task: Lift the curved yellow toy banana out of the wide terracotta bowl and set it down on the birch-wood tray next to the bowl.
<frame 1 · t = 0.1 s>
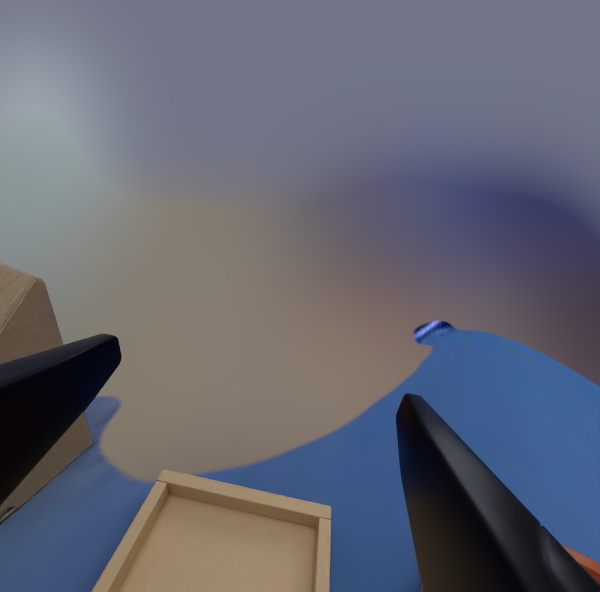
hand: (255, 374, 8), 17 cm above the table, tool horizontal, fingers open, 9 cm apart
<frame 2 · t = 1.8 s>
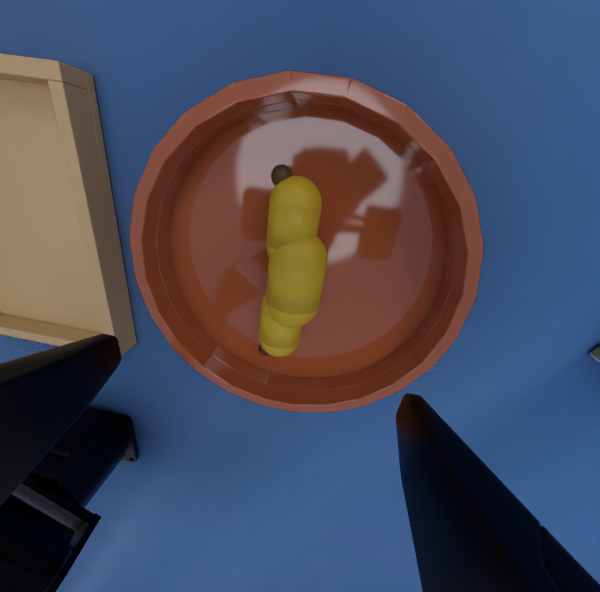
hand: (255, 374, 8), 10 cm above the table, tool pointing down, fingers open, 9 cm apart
banana: (299, 271, 17), point 1 cm above the table, touching bowl
bowl: (300, 268, 17), on the table
tray: (37, 223, 18), on the table
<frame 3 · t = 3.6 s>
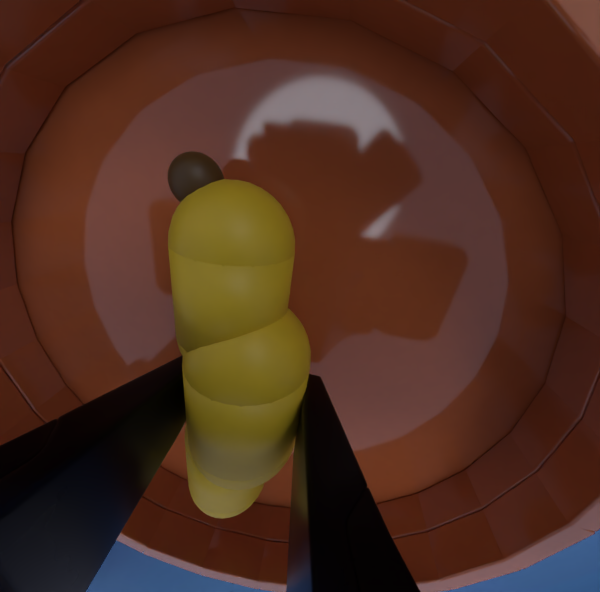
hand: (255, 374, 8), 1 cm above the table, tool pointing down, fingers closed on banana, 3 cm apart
banana: (262, 357, 9), point 1 cm above the table, touching bowl, gripper
bowl: (266, 346, 9), on the table
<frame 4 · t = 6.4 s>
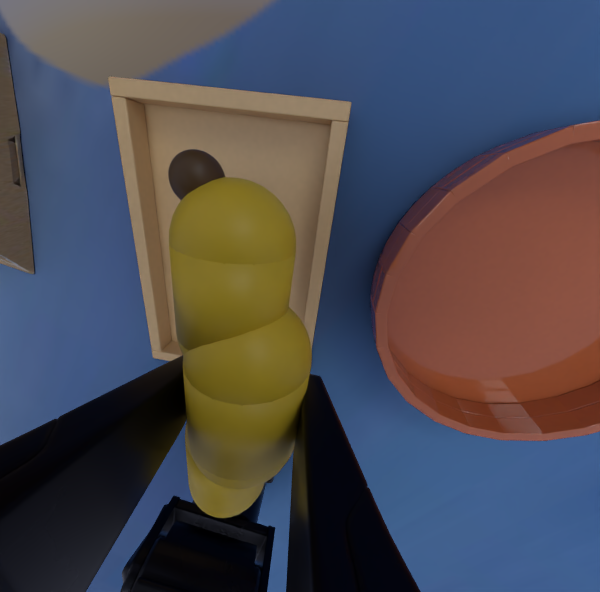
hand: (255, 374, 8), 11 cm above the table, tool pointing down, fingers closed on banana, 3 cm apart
banana: (262, 356, 9), point 10 cm above the table, touching gripper
bowl: (518, 296, 17), on the table
tray: (237, 254, 18), on the table
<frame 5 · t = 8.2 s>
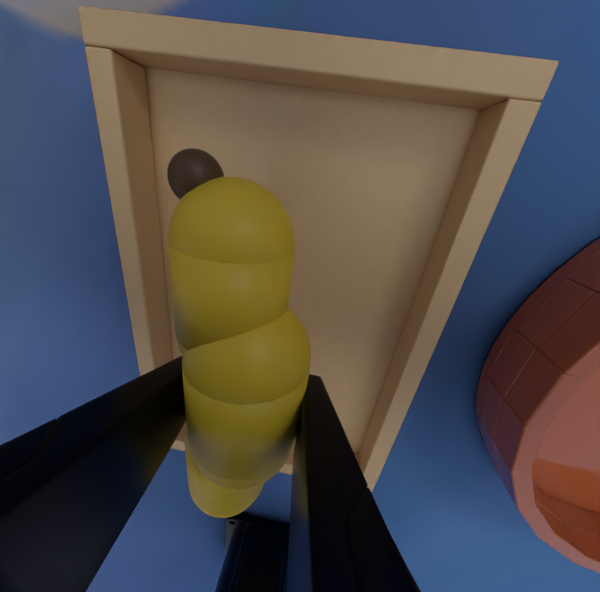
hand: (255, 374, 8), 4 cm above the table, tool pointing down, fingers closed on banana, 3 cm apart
banana: (262, 356, 9), point 4 cm above the table, touching gripper
tray: (282, 306, 12), on the table
when the fingers open (1 cm above the table, at t = 9.3 s): banana stays where it is, resting on tray.
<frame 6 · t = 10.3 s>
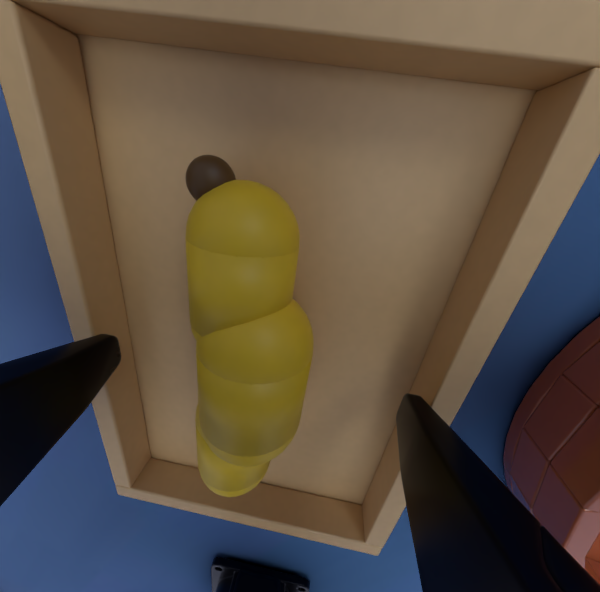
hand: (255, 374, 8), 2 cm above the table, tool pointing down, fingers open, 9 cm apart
banana: (267, 346, 9), resting on tray
tray: (270, 338, 10), on the table
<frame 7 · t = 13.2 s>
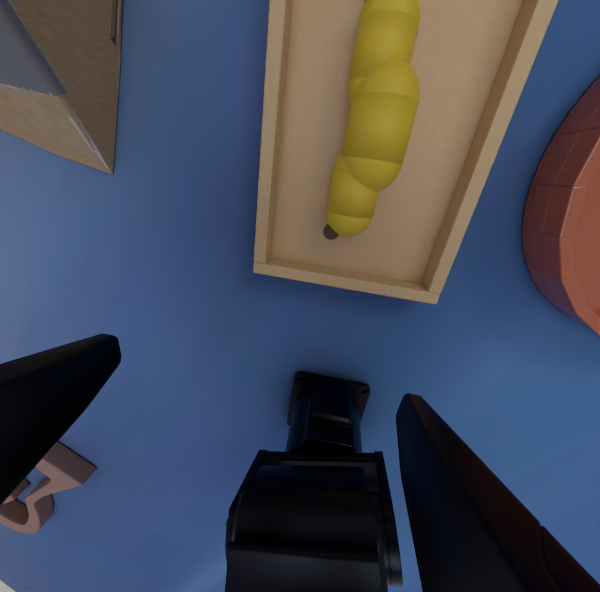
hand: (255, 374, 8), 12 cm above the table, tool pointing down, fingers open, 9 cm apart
banana: (373, 136, 15), resting on tray
sandwich container: (52, 10, 15), on the table
tray: (372, 137, 15), on the table
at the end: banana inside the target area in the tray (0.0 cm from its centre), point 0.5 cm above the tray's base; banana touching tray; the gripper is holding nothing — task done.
